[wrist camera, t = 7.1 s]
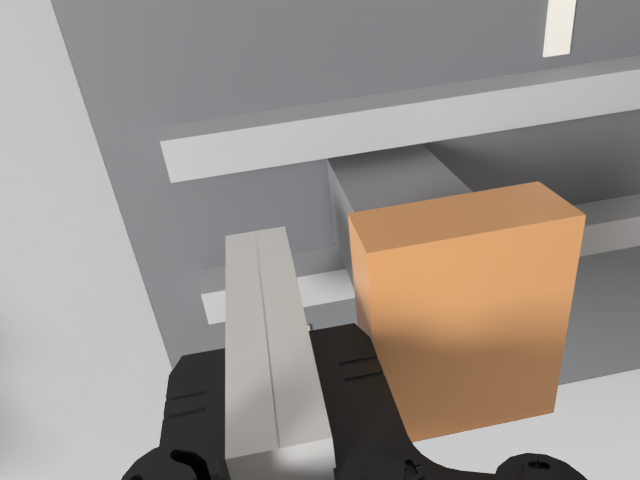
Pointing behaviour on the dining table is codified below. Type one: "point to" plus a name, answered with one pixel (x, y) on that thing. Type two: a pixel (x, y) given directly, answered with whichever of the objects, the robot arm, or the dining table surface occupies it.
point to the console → (359, 136)
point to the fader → (456, 286)
